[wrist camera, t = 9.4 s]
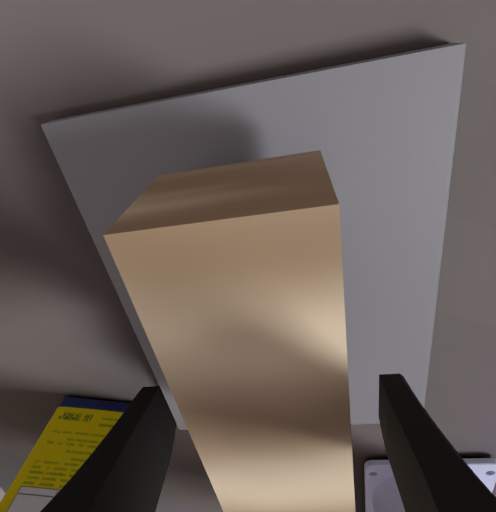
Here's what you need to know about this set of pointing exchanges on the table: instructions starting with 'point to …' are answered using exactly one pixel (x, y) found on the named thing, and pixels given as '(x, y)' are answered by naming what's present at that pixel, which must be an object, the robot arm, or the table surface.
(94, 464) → the robot arm
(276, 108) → the peg stand
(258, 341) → the shelf board
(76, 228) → the table surface
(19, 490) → the supplement box
